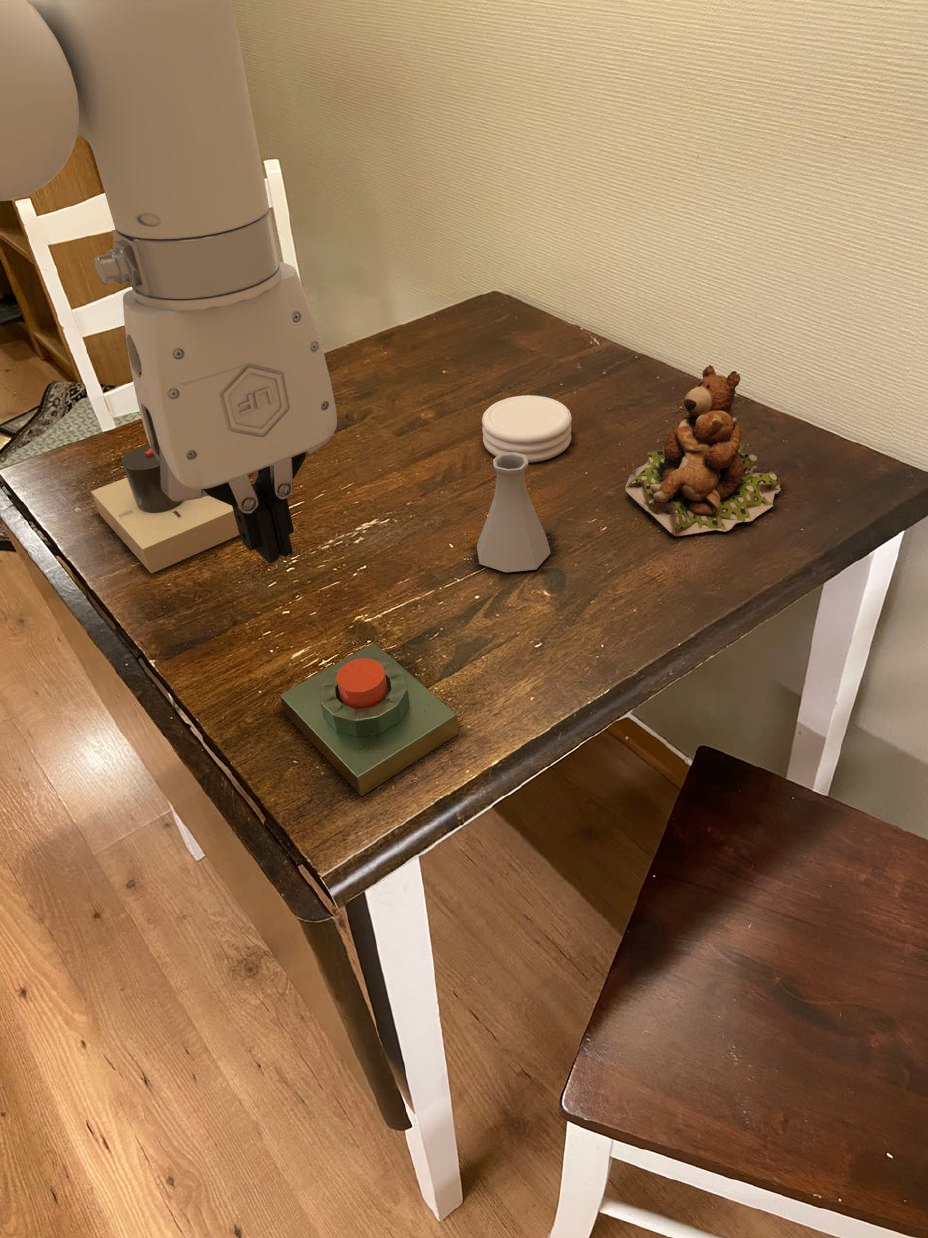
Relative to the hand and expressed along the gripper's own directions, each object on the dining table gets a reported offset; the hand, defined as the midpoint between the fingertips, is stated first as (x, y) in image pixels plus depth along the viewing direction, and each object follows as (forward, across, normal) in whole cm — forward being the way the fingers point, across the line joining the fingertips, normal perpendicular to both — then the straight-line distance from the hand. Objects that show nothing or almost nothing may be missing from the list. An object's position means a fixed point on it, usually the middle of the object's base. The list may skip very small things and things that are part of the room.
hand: (270, 549), depth 56 cm
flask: (+18, +27, +8) cm, 33 cm away
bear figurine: (+17, +47, +2) cm, 50 cm away
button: (+14, +4, -2) cm, 15 cm away
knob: (+15, +4, +36) cm, 39 cm away
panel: (+18, +4, +36) cm, 40 cm away
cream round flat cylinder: (+18, +42, +23) cm, 51 cm away
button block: (+18, +4, -2) cm, 18 cm away
